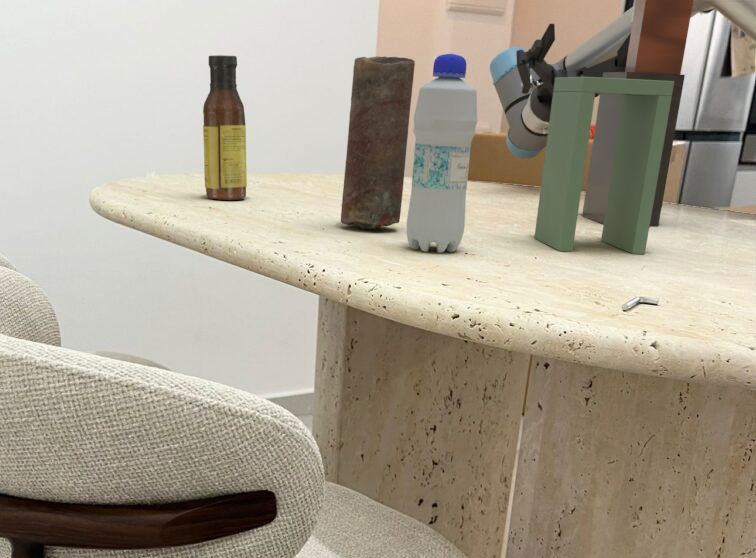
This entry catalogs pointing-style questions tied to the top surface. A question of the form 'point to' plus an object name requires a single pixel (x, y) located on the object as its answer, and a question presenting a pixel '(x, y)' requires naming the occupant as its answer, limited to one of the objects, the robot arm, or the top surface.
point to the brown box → (658, 36)
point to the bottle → (441, 156)
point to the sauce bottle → (224, 133)
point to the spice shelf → (607, 142)
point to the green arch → (630, 165)
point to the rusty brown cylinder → (377, 141)
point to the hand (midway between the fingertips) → (594, 33)
